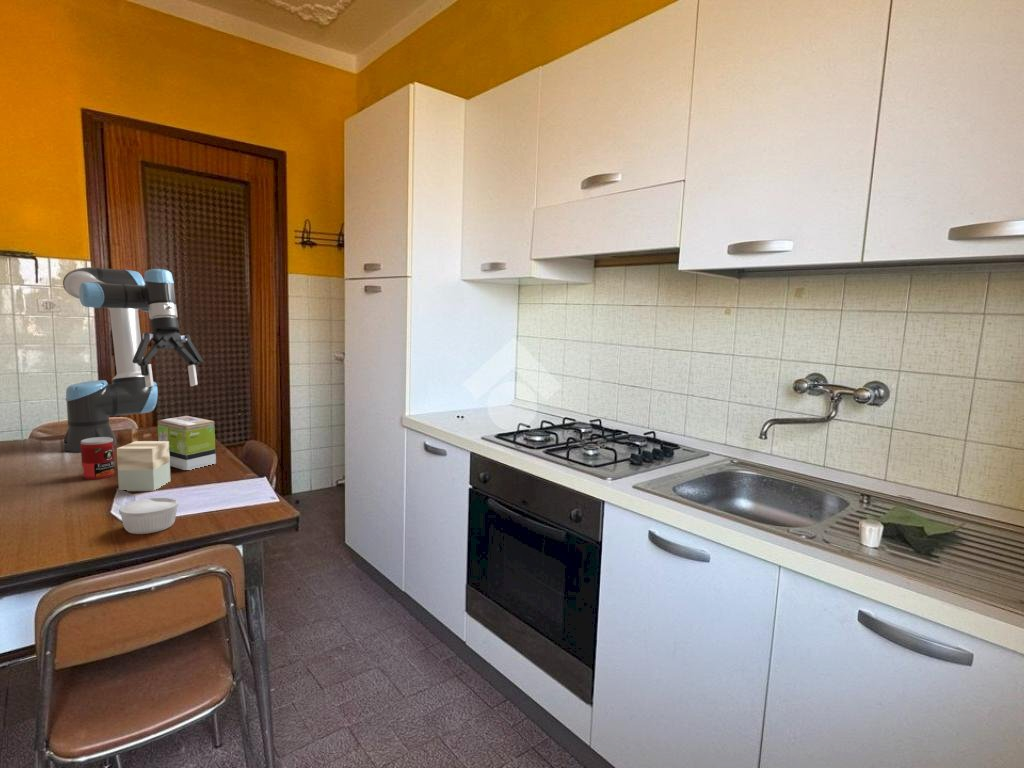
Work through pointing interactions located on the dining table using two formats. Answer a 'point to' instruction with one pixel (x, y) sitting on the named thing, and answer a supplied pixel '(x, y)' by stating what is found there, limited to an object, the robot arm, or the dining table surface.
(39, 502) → the dining table surface
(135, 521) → the ramekin
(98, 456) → the canned food
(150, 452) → the top block
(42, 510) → the dining table surface
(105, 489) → the dining table surface
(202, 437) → the tea box
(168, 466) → the lower block
